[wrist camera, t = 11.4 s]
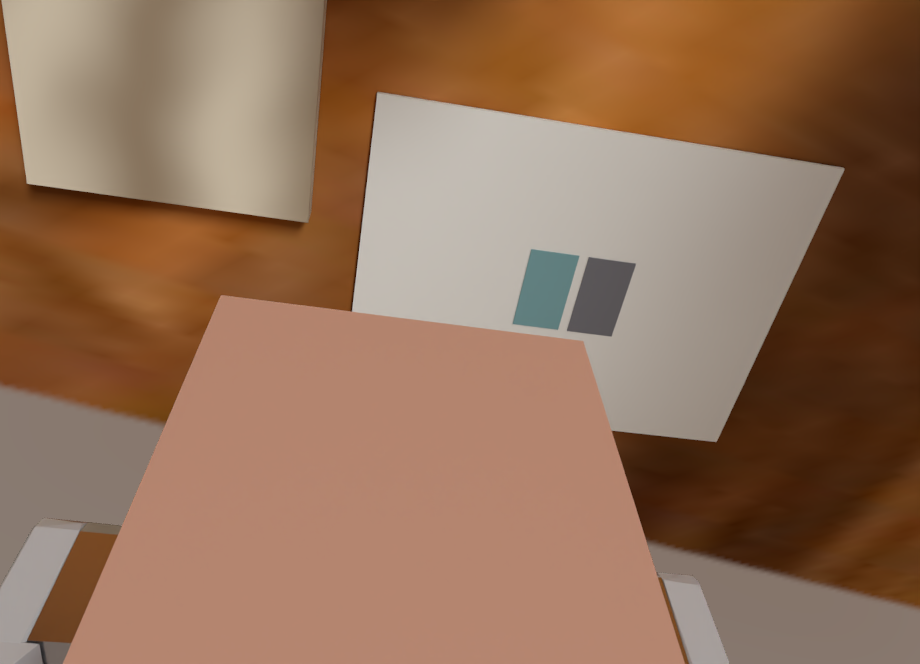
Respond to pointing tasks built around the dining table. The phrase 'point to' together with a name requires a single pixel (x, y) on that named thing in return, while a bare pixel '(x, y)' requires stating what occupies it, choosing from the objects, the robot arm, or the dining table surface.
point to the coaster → (171, 99)
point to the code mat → (589, 248)
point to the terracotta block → (379, 505)
